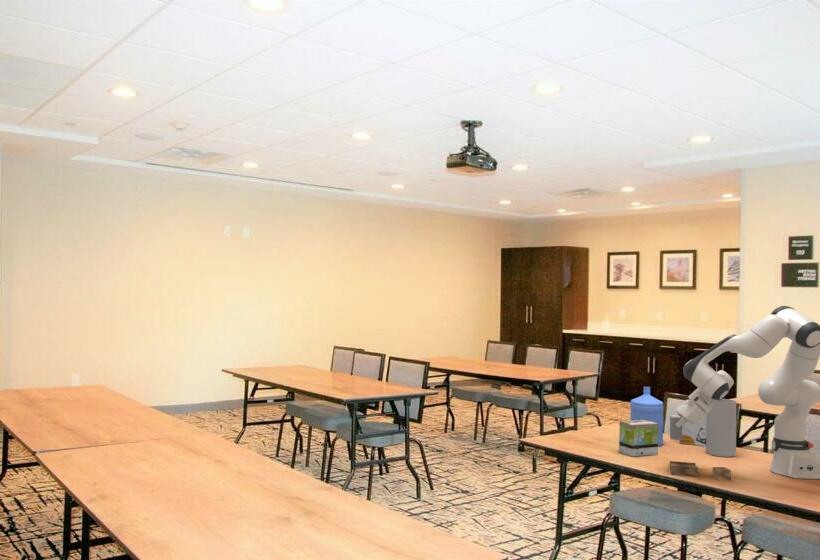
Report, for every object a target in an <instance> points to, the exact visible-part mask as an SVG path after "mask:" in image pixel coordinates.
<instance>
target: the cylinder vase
mask: <svg viewBox="0 0 820 560" xmlns="http://www.w3.org/2000/svg"><path fill="white" fill-rule="evenodd" d="M705 448H706V451H705V452H706V453H707V454H708V455H709V456H710V455H711V456H715V457H720V458H721V457H722V458H733V457H735V456H736V455H737V401H736V400H734V399H728V398H727V399H726V398H723V399H721V400H717V401H716V402H715V403H714V405H713V406H712V407H711V411H710V412H709V413H706V447H705Z"/></svg>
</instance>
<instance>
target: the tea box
mask: <svg viewBox="0 0 820 560" xmlns="http://www.w3.org/2000/svg"><path fill="white" fill-rule="evenodd" d="M658 430H659V424H658V423H655V422H651V421H647V420H632V421H630V420H620V421H619V433H618V435H619V436H618V438H619V439H618V452H619V453H621V454H622V455H626V456H629V457H640V456H641V457H642V456H656V455H659V446H658Z"/></svg>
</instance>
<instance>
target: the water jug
mask: <svg viewBox="0 0 820 560" xmlns="http://www.w3.org/2000/svg"><path fill="white" fill-rule="evenodd" d="M629 405H630V406H629V407H630V409H629V410H630V420H629V421H632V420H647V421H651V422H655V423H658V424H659V430H658V447H661V446H663V445H664V402H663V401H662V400H659V399H658V398H656V397H654V396H652V395H651V386H643V394H642V395H640V396H638V397H635V398H632V399H631V400H630V404H629Z"/></svg>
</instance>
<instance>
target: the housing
mask: <svg viewBox="0 0 820 560" xmlns="http://www.w3.org/2000/svg"><path fill="white" fill-rule="evenodd" d="M681 418H682V417H680V416H677V414H675V415H674V414H671V415H670V416H669V438H670V440H676V441H680V440H682V425H681V426H680V427H677V426H676V425H675V423H676V422H677V421H679V420H680V419H681Z"/></svg>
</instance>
